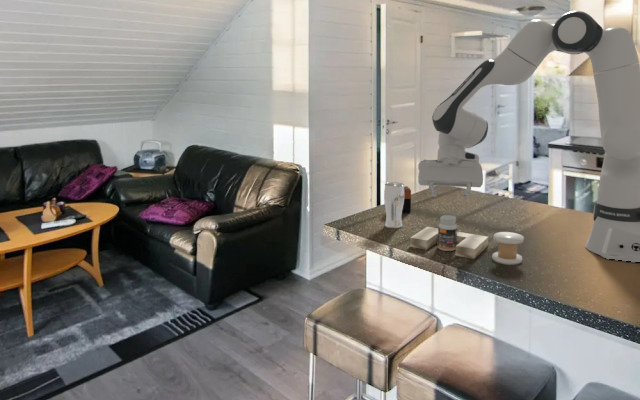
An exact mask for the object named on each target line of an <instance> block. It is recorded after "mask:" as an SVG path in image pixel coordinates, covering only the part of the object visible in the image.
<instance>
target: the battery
mask: <svg viewBox="0 0 640 400" xmlns="http://www.w3.org/2000/svg"><path fill="white" fill-rule="evenodd" d="M411 203H412V190H411V188H410V187H409V186H407V185H406V186H405V185H404V205H403V210H402V214H409V213H411V212H412V211H411V207H412V204H411Z"/></svg>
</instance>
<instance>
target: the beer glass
mask: <svg viewBox="0 0 640 400" xmlns="http://www.w3.org/2000/svg"><path fill="white" fill-rule="evenodd" d="M404 187H405V184H404V183H403V182H398V181H397V182H395V181H394V182H386V183H385V184H384V190H383V191H384V192H383V201H384V208H385V222H384V223H385V224H384V227H385V228H386V229H396V230H397V229H401V228H403V221H402V217H403V216H402V215H403V213H402V210H403V205H404Z"/></svg>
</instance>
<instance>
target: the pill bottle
mask: <svg viewBox="0 0 640 400" xmlns="http://www.w3.org/2000/svg"><path fill="white" fill-rule="evenodd" d="M439 221H440V222H439V224H438V226H437V228H438V242H437V243H436V244H437V249H439V250H440V251H445V252H452V251H456V245H457V232H458V225H457V224H456V222H457V217H456V216H454V215H449V214H448V215H445V214H444V215H441V216H440V219H439Z"/></svg>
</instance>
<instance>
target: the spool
mask: <svg viewBox="0 0 640 400" xmlns="http://www.w3.org/2000/svg"><path fill="white" fill-rule="evenodd" d="M493 240H494V241H495V242H497V243H498V247H497V249H498V250H497V251H496V252H493V253H492V255H491V256H492V257H491V259H492V260H493V262H495V263H498V264H502V265H506V266H508V265H509V266H515V265H519V264H522V262H523V256H522V255H520V254H518V246H519V245H520V244H523V243H524V241H525V237H524V236H523V235H522V234H519V233H517V232H512V231H511V232H510V231H499V232H495V233H494V234H493Z"/></svg>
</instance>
